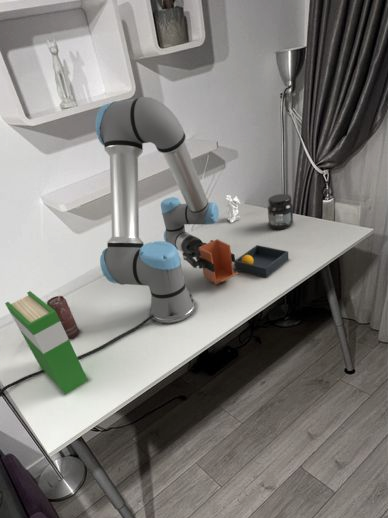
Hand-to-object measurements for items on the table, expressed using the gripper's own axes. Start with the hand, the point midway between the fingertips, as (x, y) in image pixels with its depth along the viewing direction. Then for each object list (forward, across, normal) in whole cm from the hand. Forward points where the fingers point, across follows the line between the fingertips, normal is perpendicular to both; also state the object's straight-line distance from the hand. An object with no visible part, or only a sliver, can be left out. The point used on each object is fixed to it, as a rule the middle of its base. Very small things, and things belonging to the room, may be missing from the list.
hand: (223, 263), depth 138 cm
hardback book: (+5, +63, -9) cm, 64 cm away
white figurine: (-47, -38, -9) cm, 61 cm away
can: (-14, +55, -9) cm, 58 cm away
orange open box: (-3, 0, -7) cm, 8 cm away
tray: (-2, -18, -9) cm, 20 cm away
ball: (-5, -13, -6) cm, 15 cm away
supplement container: (-24, -46, -9) cm, 53 cm away
